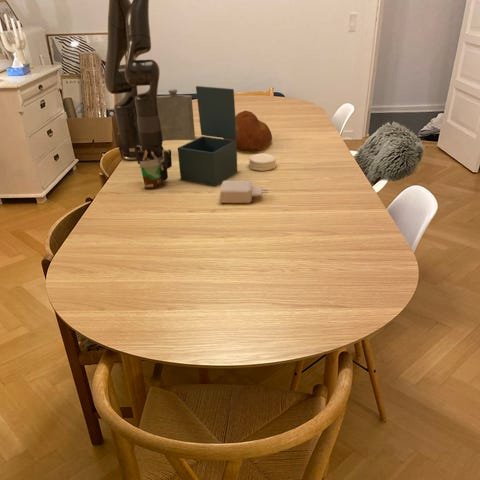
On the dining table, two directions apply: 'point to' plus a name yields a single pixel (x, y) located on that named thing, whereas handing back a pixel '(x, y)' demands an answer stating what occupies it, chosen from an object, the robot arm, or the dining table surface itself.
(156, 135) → the robot arm
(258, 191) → the charger
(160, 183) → the food container
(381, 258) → the dining table surface
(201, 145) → the cool chest
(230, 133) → the lid
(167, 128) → the hip flask
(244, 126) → the bread
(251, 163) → the white round disc
